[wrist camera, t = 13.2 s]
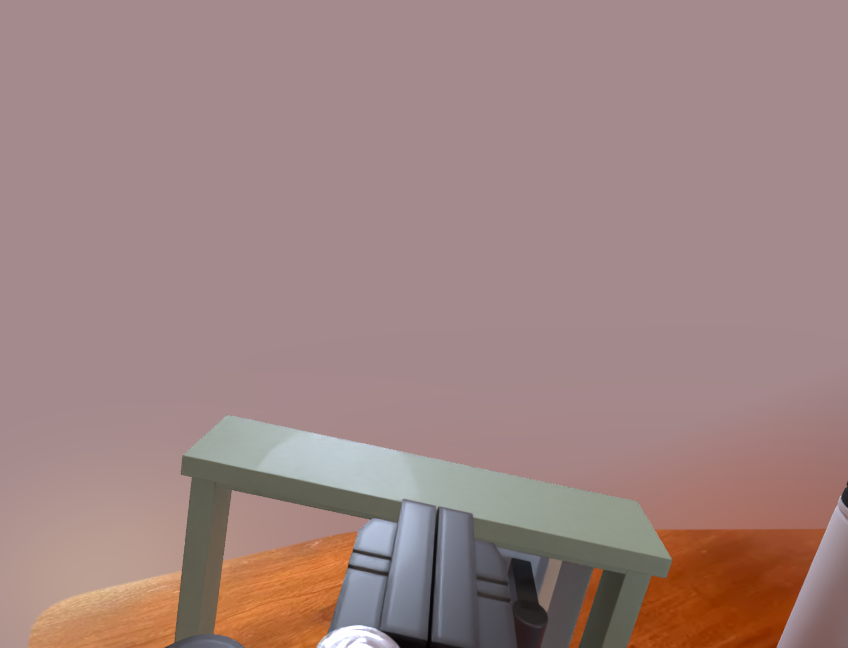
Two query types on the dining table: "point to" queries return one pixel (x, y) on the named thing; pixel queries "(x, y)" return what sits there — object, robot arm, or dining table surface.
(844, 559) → the travel mug
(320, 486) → the window frame
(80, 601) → the dining table surface
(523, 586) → the sash
